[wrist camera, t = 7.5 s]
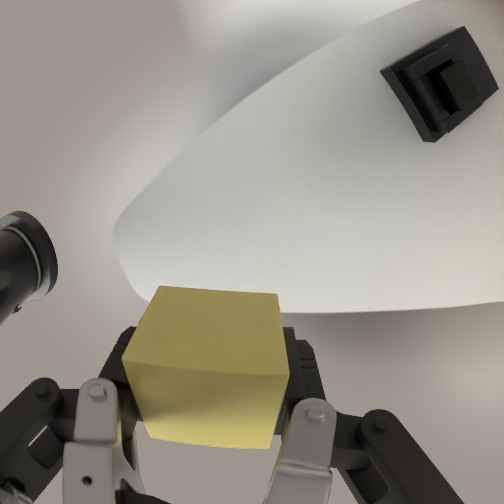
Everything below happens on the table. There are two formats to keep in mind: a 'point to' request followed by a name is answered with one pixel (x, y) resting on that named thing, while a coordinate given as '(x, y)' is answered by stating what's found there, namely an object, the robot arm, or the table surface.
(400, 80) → the black hollow base
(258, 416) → the note cube
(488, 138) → the table surface
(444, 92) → the black square block
